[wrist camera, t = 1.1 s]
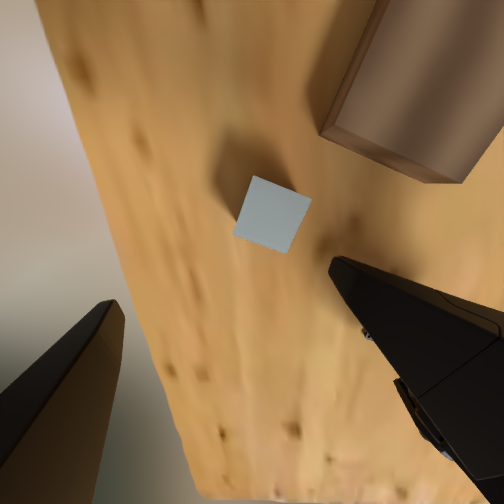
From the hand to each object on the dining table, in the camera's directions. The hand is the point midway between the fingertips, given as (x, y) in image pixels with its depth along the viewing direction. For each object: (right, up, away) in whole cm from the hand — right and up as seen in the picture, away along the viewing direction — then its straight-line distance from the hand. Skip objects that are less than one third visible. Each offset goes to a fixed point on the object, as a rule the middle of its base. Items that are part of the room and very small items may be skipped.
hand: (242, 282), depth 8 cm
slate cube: (+2, +6, +12) cm, 14 cm away
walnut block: (+14, +16, +9) cm, 23 cm away
